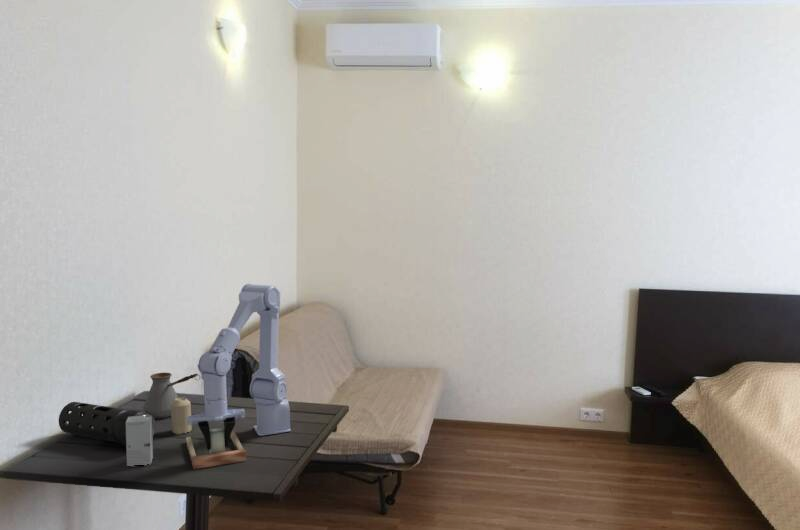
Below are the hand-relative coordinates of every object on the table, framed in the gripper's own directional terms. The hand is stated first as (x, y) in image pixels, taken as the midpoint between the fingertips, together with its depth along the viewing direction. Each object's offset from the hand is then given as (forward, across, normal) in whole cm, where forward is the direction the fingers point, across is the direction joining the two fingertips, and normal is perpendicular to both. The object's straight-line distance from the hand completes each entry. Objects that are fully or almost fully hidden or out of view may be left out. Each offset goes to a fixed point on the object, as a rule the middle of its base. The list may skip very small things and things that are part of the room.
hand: (217, 447), depth 175 cm
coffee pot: (+3, -8, +40) cm, 41 cm away
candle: (+3, -7, +25) cm, 26 cm away
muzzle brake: (+3, -27, +25) cm, 37 cm away
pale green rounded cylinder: (+2, 0, 0) cm, 2 cm away
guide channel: (+3, 0, +6) cm, 7 cm away
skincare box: (+3, -19, +5) cm, 20 cm away
